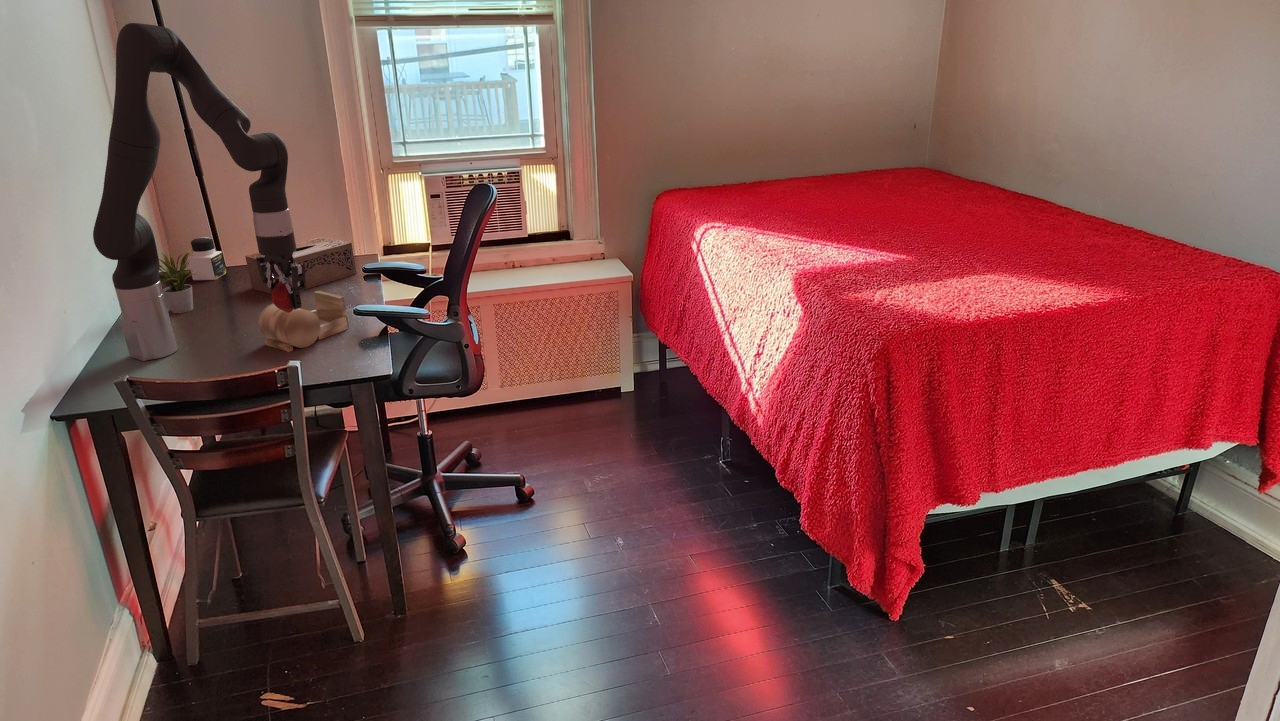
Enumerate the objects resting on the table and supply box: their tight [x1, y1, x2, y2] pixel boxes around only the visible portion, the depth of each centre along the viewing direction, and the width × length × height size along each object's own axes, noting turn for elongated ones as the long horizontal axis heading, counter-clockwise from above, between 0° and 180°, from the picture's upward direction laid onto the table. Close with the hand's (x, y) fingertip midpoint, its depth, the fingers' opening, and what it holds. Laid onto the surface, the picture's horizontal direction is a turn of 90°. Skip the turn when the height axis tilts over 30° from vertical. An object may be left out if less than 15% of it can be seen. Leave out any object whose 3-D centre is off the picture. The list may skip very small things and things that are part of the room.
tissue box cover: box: [244, 236, 357, 295], centre depth 248 cm, size 26×14×10 cm, turn 144°
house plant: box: [159, 249, 197, 314], centre depth 226 cm, size 14×14×16 cm
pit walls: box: [310, 290, 350, 341], centre depth 210 cm, size 10×12×8 cm
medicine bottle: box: [187, 236, 227, 281], centre depth 254 cm, size 7×7×12 cm
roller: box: [258, 302, 320, 353], centre depth 201 cm, size 11×9×9 cm
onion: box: [270, 280, 301, 313], centre depth 183 cm, size 6×6×8 cm
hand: (287, 305), depth 184 cm, fingers closed on onion, 5 cm apart
